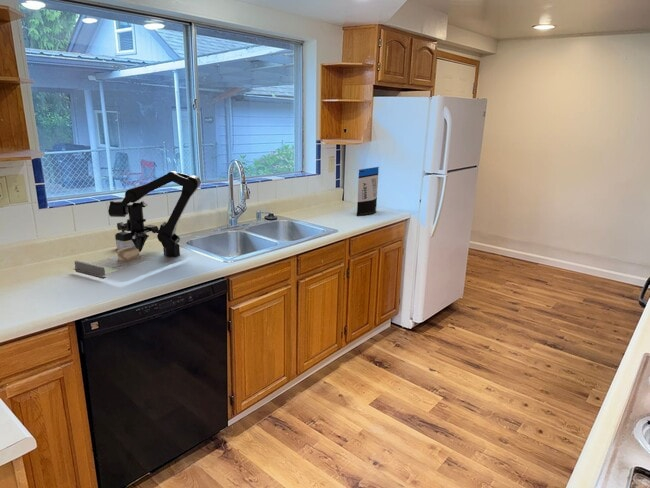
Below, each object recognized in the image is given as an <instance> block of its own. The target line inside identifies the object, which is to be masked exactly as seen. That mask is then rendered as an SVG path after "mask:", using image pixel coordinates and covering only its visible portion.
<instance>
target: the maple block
mask: <svg viewBox="0 0 650 488" xmlns="http://www.w3.org/2000/svg"><path fill="white" fill-rule="evenodd" d="M117 255H118V260H123V261H127V262H129V261H132V260H135V259H138V258H139V256H140V252H139V249H136V247H133V248H131V247H127V248H124V249H120V250H119V249H117V250H116V256H117Z"/></svg>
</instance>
